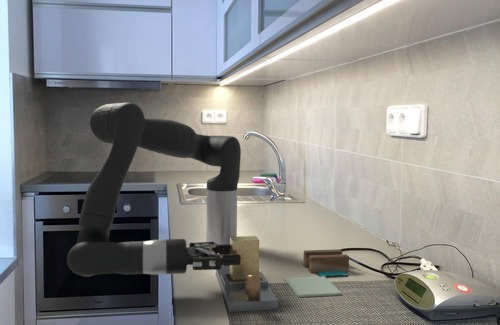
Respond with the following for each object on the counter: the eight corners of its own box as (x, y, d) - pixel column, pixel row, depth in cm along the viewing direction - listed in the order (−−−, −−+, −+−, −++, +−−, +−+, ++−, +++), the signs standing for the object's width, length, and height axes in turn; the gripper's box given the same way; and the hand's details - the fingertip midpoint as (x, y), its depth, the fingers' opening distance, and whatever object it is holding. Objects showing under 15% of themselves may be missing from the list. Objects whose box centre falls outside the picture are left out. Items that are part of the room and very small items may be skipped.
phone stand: (303, 265, 139) (303, 250, 139) (339, 263, 141) (339, 249, 140) (311, 273, 132) (311, 257, 132) (348, 271, 134) (349, 256, 133)
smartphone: (329, 258, 144) (349, 274, 130) (329, 261, 144) (349, 277, 130) (304, 259, 143) (321, 276, 128) (304, 262, 143) (321, 279, 128)
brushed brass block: (229, 279, 120) (230, 236, 119) (255, 278, 121) (256, 236, 120) (232, 285, 116) (232, 240, 115) (258, 284, 117) (259, 240, 116)
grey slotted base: (215, 274, 130) (215, 246, 129) (255, 272, 132) (255, 245, 131) (229, 312, 105) (230, 278, 105) (278, 309, 107) (278, 276, 106)
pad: (284, 280, 126) (284, 278, 126) (324, 278, 128) (324, 276, 128) (297, 297, 114) (297, 294, 114) (341, 295, 116) (341, 292, 116)
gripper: (164, 248, 107) (242, 245, 110) (163, 232, 121) (233, 230, 124) (164, 283, 108) (242, 280, 111) (164, 264, 122) (232, 261, 125)
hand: (237, 254), depth 117 cm, fingers open, 8 cm apart
